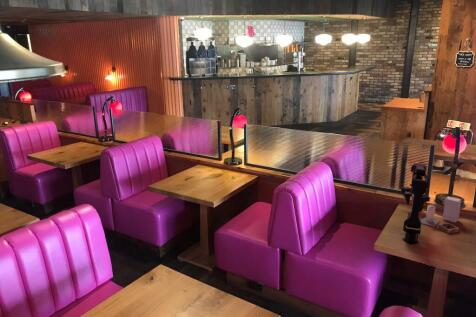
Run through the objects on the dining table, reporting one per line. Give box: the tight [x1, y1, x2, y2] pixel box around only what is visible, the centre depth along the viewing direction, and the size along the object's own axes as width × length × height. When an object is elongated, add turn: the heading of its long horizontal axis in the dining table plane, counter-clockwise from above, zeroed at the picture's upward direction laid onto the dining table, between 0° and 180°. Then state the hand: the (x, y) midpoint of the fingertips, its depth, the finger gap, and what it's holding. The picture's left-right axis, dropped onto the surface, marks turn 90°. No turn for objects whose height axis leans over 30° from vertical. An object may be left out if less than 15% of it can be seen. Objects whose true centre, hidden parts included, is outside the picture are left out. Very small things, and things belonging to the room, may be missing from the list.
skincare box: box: [442, 196, 462, 224], centre depth 257 cm, size 8×6×15 cm
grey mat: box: [420, 216, 440, 228], centre depth 255 cm, size 11×9×1 cm
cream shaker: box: [425, 204, 436, 223], centre depth 254 cm, size 4×4×11 cm
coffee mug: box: [411, 195, 428, 213], centre depth 271 cm, size 12×9×10 cm
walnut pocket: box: [437, 222, 460, 234], centre depth 245 cm, size 8×8×2 cm
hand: (413, 207), depth 246 cm, fingers open, 9 cm apart
